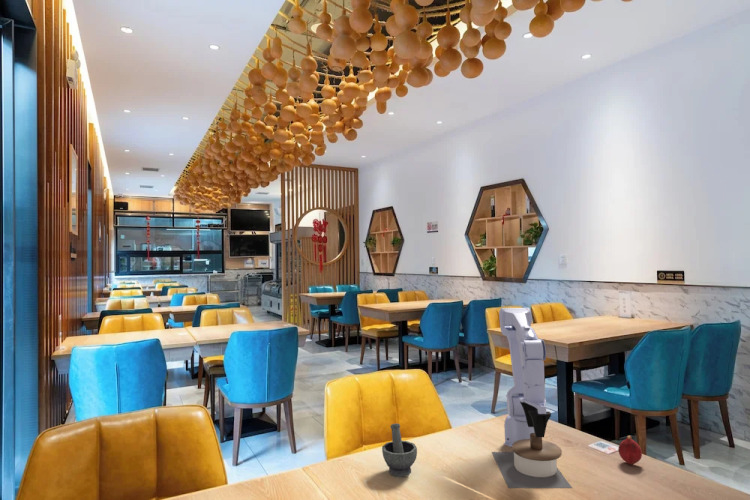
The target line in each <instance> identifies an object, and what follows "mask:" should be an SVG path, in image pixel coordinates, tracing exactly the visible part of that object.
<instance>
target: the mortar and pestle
mask: <svg viewBox="0 0 750 500" xmlns="http://www.w3.org/2000/svg"><path fill="white" fill-rule="evenodd" d="M400 428H401V425H400V423H392V424H391V425H390V429H391V436H392V437H391V438H392V439H391V440H392V441H389V442H385V444H383V445H382V447H381V449H382V451H381V453H382V456H383V460H384V462H385V463H386V466H387V467H388V468H389V469H388V472H389V475H390V474H391V476H392V477H395V478H403V477H407V476H409V475H410V474H411V473H412V466H413V465H414V463H415V461H416V460H417V455H418V447H417V446H416V443H413V442H410V441H407V440H402V434H401V430H400Z"/></svg>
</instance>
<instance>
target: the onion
mask: <svg viewBox="0 0 750 500" xmlns="http://www.w3.org/2000/svg"><path fill="white" fill-rule="evenodd" d="M618 454H619V456H620V458H621V459H622V461H624V462H625V463H627V464H628V465H631V466H632V465H635V464H636V463H639V462H640V460H641V459H642V457H643V451H642V448H641V446H640V445H639V444H638V442H636V441H635V440H634V439H632V436H631V435H627V437H626V439H623V440H622V441H621V442H620V443H619V446H618Z"/></svg>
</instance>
